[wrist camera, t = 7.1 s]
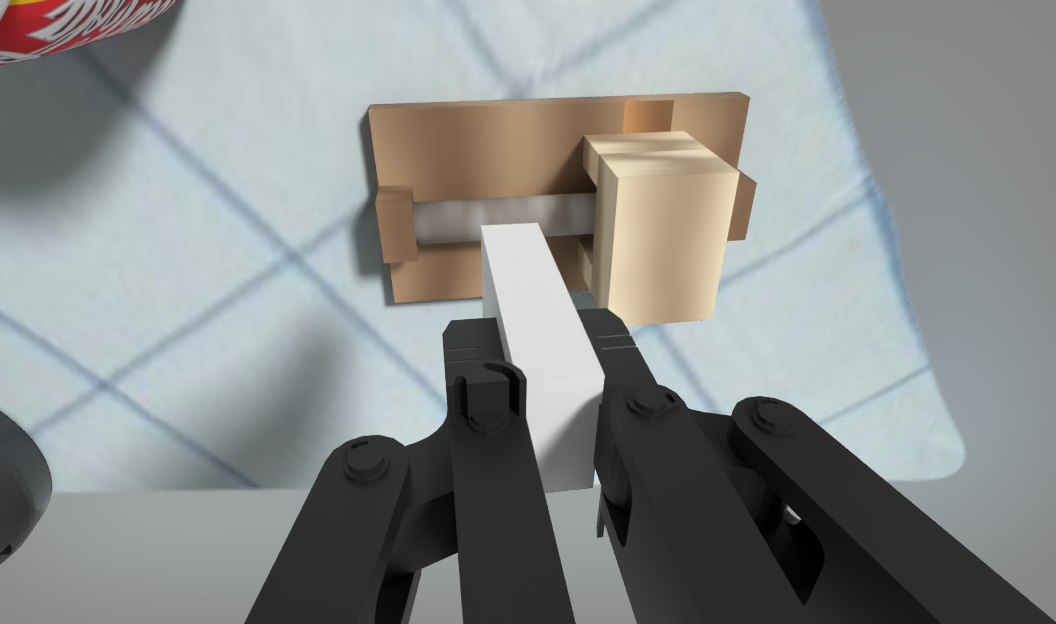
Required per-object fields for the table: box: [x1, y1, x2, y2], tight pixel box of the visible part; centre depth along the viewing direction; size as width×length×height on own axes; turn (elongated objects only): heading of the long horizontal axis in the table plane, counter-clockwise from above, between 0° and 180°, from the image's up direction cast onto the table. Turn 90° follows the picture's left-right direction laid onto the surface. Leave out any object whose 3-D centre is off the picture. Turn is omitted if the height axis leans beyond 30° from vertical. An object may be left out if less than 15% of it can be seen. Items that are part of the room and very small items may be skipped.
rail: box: [368, 92, 757, 303], centre depth 30 cm, size 18×10×4 cm, turn 90°
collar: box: [578, 131, 740, 327], centre depth 28 cm, size 5×7×6 cm
